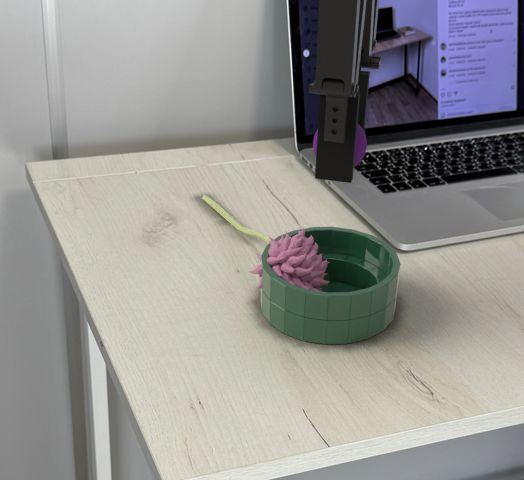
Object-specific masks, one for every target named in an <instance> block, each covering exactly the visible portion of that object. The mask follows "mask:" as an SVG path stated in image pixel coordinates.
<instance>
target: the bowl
mask: <svg viewBox="0 0 524 480" xmlns="http://www.w3.org/2000/svg"><path fill="white" fill-rule="evenodd" d="M299 230H300V232H301V231H302V230H303V228H300V229H294V230H291V231H288V232H287V233H288V235H289V237H291V238H292V237H293V236H295V235H297V234H298V233H299ZM304 230H305V235H304V237H306V238H309V237H310V236H311V235H312V237H313V238H314V242H313V244H312V245H315V243H317V245H318V246H319V247H318V252H317V253H316V255H320V254H322V255H321V256H322V262H323V261H325V260H326V259H327V262H330V263H328V264H327V268H326V270H325V272H324V273H326V274H328V275H325V276H324V278H323V280H325V281H330V282H329V283H328V284H327V285H324V286H321V287H319V288H322V290H321V291H314V290H308V289H305V288H302V287H299V286H296V285H293V284H290V283H289V282H287V281H285V280H284V279H282V278H281V277H279V276H277V275H276V273H275V272H274V271H273V270H272V268H271V267H270V264H269V263H268V262H267V259H268V258H269V253H268V251H269V249H270V243H269V244H268V243H267V244H266V246H265V247H264V249H263V251H262V254H260V255H261V262H260V264H261V278H260V279H262V288H260V307H261V308H260V309H261V313H262V315H263V317H264V318H265V319H266V320H267V322H268V323H269V325H271V326H272V327H273V328H275V329H276V330H277V331H279V332H281V333H283V334H284V335H286V336H288V337H291V338H295V339H297V340H300V341H303V342H308V343H315V344H322V345H342V344H343V345H347V344H351V343H356V342H361V341H366V340H368V339H370V338H373V337H374V336H376V335H378V334H381V333H382V332H383V331H385V330H386V328H387V327H389V325H390V324H391V323H392V322H393V320H394V316H395V312H396V307H397V300H398V290H399V283H400V274H401V264H402V263H401V260H400V258H399V255H398V253H397V251H396V250H395V249H394V248H393V247H392V246H390V245H389V243H387V242H386V241H384V240H382V239H380V238H378V237H376V236H374V235H373V234H370V233H366V232H363V231H360V230H356V229H352V228H345V227H337V226H312V227H305V228H304ZM282 235H283V237H284V239H285V237H286V233H283V234H281V235H278V236H277V237H275V238H273V239H274V240H275V241H276V242H277V241H279V240H280V239H281V238H282Z"/></svg>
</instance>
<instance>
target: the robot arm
mask: <svg viewBox="0 0 524 480" xmlns="http://www.w3.org/2000/svg"><path fill="white" fill-rule="evenodd" d="M379 6H380V0H318V9H317V10H318V11H317V14H318V15H317V33H316V36H317V37H316V55H315V57H316V58H315V77H314V78H315V79H314V81H313V82H312V83H310V84H308V93H309V94H315V95H319V102H318V121H317V130H318V135H317V153H316V156H315V172H314V173H315V174H314V179H315V180H316V179H317V180H325V181H332V182H341V183H347V184H348V183H349V184H352V182H353V180H354V171H355V170H354V169H355V167H354V159H355V148H356V136H357V124H359V125H360V126H361V127H362V129H363V131H364V133H365V131H366V122H367V121H366V120H367V109H368V100H369V99H368V97H369V87H370V76H371V71H368V70H364V69H369V70H370V69H371V70H380V68H381V63H382V56H376V55H372V53H374V51H376V48H377V41H378V40H377V39H376V37H377V26H378V16H379ZM365 134H366V133H365Z"/></svg>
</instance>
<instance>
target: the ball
mask: <svg viewBox="0 0 524 480" xmlns="http://www.w3.org/2000/svg"><path fill="white" fill-rule="evenodd" d="M317 135H318V129H317V130H316V131H315V134H314V137H313V142H312V149H313V153H314V156H315V157H316V153H317ZM367 148H368V141H367V136H366V133H364V131H363V129H362V127H361V126H360V125H359V124H357V136H356V148H355V159H354V168H356V167H357V166H358V165H359V164H360V163H361V162H362V160H364V159H363V158H364V157H365V155H366V152H367Z"/></svg>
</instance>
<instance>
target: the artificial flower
mask: <svg viewBox="0 0 524 480" xmlns="http://www.w3.org/2000/svg"><path fill="white" fill-rule="evenodd" d="M201 199H202V200H203V201H204V202H206V203H207V205H209V206H210V207H211V208H212V209H213V210H214V211H216V212H217V214H219V215H220V216H221V217H222V218H224V219H225V220H226V221H227V222H228V223H229V224H231V226H233V227H234V228H235V229H236V230H238V231H239V232H241V233H243V234H244V235H246V236H251V237H256V238H259V239H261V240H263V241H265V242H266V243H267V245H268V244H269V243H270V249H269V251H268V253H269V258H268V259H267V262H268V263H269V264H270V267H271V268H272V270H273V271H274V272H275V273H276V275H277V276H279V277H281V278H282V279H284V280H285V281H287V282H289V283H290V284H293V285H296V286H299V287H302V288H305V289H308V290H314V291H321V290H322V288H319V287H321V286H324V285H327V284H328V283H329V282H330V281H325V280H323V278H324V276H325V275H328V274H326V273H324V272H325V270H326V268H327V264H328V263H330V262H327V259H326V260H325V261H323V262H322V256H321V255H322V254H320V255H316V253H317V252H318V247H319V246H318V245H317V243H315V245H312V244H313V242H314V238H313V237H312V235H311V236H310V237H309V238H306V237H304V235H305V230H304V229H305V228H304V227H303V228H302V229H303V230H302V231H301V232H300V230H299V229H298V230H299V233H298V234H297V235H295V236H293V237H292V238H291V237H289V235H288V232H287V231H285V234H286V237H285V239H284V237H283V234H281V235H282V238H281V239H280V240H279V241H277V242H276V241H275V240H274V239H275V238H272V237H271V236H269V237H268V236H267V235H264V234H263V233H261V232H258V231H256V230H253V229H250V228H247V227H245V226H243V225H242V224H241V223H240V222H239V221H237V220H236V218H234V217H233V216H232V215H231V214H230V213H228V211H226V210H225V209H224V208H223V207H222V206H221V205H220V204H219V203H217V202H216V201H215V200H214V199H212V198H211V197H210V196H209V195H207V194H203V195H202V197H201ZM255 254H256V256H257V258H258V260H259V262H260V264H258V265H257V266H256V267H255V268H254V269H253V270H249V271H248V272H249V273H251V274H253V275H258V276H259V278H260V279H259V284H258V286H257V288H256V289H258V290H259V289H261V288H262V279H261V255H262V254H260V253H256V252H255Z"/></svg>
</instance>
